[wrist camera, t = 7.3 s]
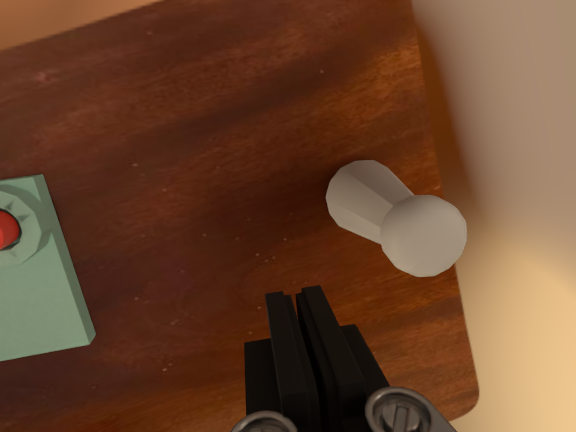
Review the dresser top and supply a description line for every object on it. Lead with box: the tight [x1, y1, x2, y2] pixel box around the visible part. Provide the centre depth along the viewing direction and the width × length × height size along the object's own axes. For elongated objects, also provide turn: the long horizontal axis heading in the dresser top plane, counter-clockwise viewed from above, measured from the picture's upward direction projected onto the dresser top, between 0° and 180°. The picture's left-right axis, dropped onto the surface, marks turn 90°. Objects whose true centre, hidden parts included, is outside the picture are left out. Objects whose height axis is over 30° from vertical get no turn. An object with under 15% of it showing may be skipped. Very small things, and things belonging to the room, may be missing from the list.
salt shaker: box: [326, 160, 467, 277], centre depth 24 cm, size 6×6×13 cm
